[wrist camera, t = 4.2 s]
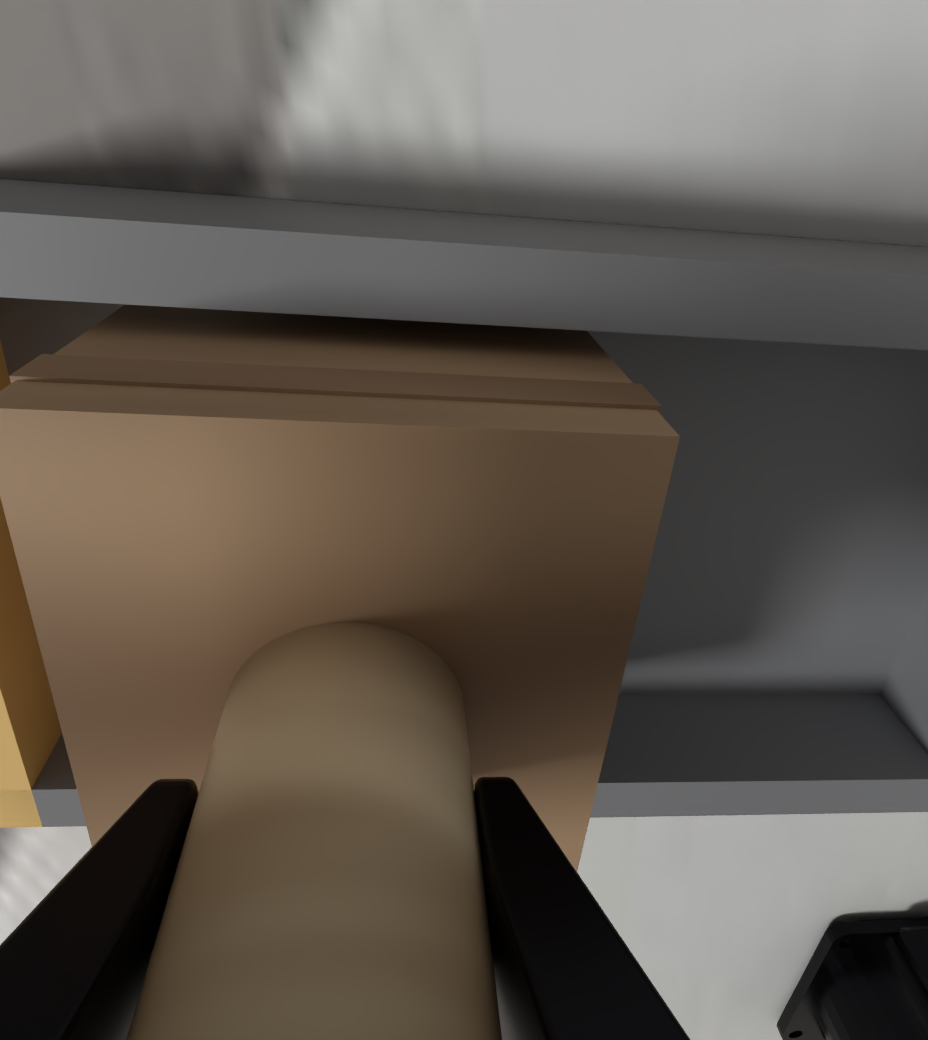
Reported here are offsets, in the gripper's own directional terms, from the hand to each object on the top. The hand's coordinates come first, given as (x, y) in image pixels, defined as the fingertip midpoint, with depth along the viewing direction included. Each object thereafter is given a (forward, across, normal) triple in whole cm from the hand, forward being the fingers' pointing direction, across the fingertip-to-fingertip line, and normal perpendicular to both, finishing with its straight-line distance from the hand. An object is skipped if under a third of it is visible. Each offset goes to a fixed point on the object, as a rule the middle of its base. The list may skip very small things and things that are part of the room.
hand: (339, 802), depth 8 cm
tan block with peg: (+6, 0, 0) cm, 6 cm away
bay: (+8, -3, 0) cm, 8 cm away
